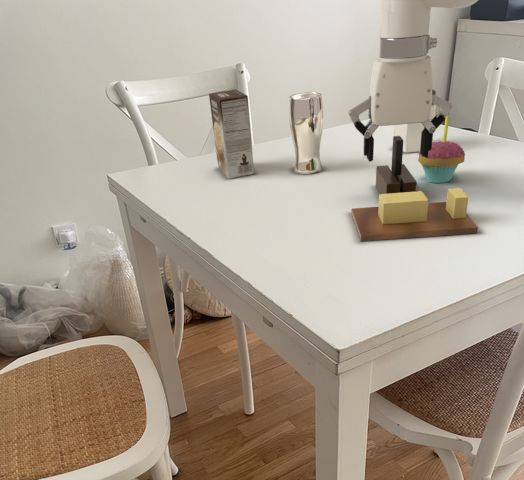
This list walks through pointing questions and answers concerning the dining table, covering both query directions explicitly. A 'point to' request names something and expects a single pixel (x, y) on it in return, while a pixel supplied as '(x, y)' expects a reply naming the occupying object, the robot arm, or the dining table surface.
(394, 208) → the butter
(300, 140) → the beer glass
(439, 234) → the board
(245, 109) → the coffee box
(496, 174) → the dining table surface
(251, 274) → the dining table surface
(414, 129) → the jar
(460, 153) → the cupcake
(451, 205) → the butter slice
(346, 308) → the dining table surface
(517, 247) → the dining table surface
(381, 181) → the knife block
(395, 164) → the knife
